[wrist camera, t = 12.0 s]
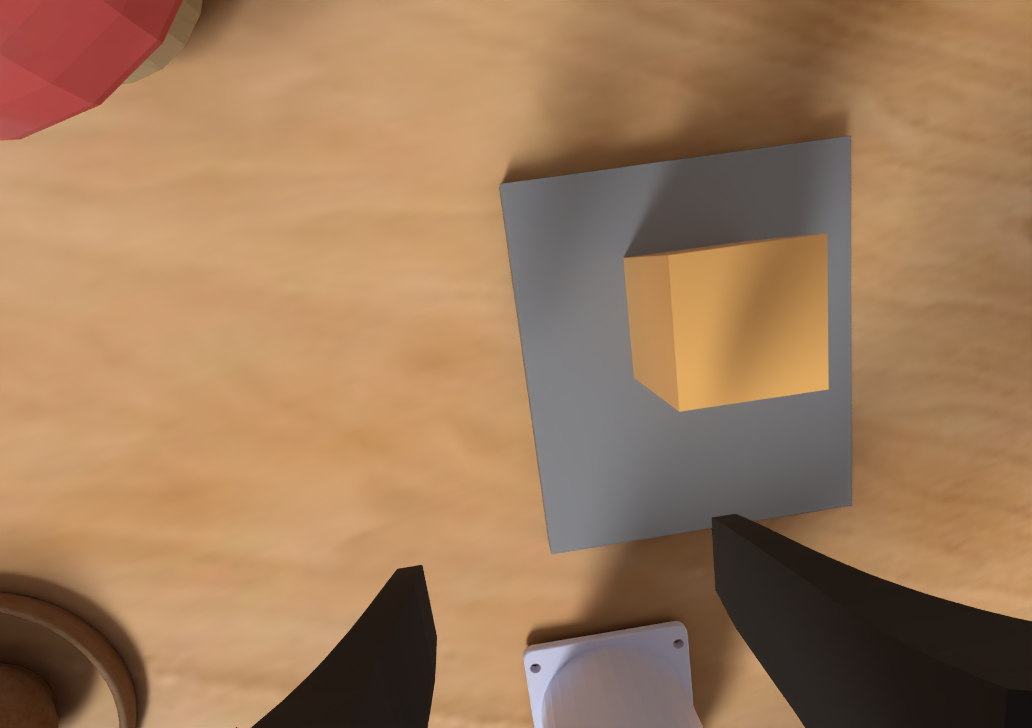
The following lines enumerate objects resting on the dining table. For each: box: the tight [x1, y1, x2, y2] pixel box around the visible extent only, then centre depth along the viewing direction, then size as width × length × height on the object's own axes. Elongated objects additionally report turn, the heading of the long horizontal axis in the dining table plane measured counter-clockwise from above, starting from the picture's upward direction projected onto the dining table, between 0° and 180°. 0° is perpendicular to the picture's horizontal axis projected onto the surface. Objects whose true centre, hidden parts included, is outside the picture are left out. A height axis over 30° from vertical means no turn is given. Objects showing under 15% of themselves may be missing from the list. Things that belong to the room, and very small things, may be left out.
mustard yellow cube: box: [623, 233, 829, 412], centre depth 18 cm, size 5×5×5 cm
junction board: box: [499, 136, 852, 554], centre depth 20 cm, size 16×14×4 cm
